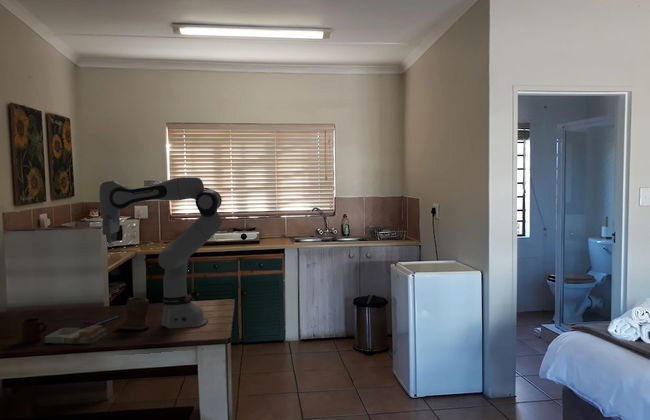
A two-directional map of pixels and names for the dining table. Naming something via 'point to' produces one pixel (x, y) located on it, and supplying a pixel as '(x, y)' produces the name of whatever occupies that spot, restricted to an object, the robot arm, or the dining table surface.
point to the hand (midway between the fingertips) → (111, 242)
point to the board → (76, 339)
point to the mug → (33, 330)
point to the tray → (59, 335)
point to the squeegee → (100, 322)
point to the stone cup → (135, 314)
